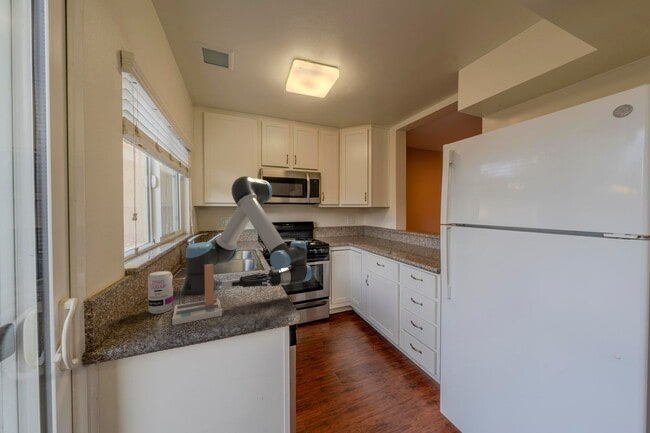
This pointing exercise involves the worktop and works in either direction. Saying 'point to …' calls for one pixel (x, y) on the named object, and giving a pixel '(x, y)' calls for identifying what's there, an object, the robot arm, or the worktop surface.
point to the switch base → (195, 311)
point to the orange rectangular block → (209, 284)
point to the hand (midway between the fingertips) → (222, 284)
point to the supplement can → (160, 292)
